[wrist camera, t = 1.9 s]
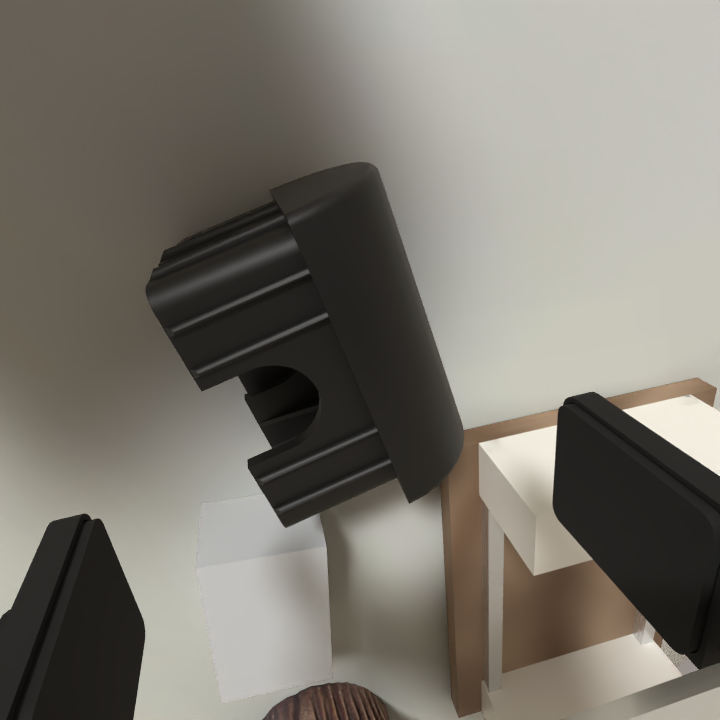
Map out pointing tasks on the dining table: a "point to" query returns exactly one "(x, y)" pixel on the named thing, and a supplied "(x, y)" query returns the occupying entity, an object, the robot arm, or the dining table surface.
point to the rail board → (526, 571)
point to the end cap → (316, 341)
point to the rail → (494, 602)
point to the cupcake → (330, 704)
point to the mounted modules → (559, 549)
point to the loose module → (263, 597)
